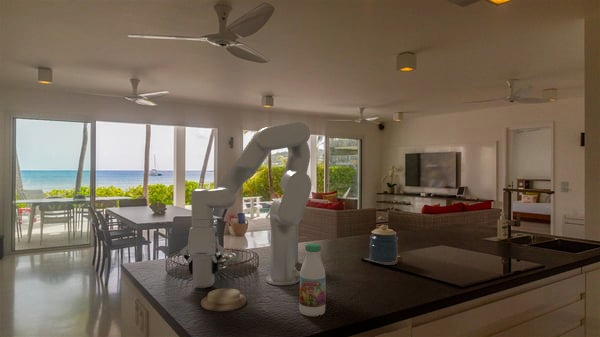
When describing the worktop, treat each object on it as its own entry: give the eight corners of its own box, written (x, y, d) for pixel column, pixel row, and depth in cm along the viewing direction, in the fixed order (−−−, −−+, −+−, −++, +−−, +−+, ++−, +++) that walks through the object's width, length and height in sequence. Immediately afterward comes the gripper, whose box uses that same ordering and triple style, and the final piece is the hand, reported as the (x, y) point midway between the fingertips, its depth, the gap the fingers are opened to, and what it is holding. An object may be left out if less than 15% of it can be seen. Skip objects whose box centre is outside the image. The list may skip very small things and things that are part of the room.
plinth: (250, 296, 123) (250, 287, 123) (241, 312, 109) (241, 301, 109) (208, 294, 124) (208, 285, 124) (194, 310, 110) (194, 300, 110)
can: (208, 289, 127) (208, 254, 127) (188, 288, 129) (188, 253, 129) (218, 282, 135) (217, 249, 134) (199, 281, 136) (198, 249, 136)
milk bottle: (298, 307, 114) (299, 242, 114) (323, 307, 114) (324, 242, 114) (300, 317, 106) (301, 247, 106) (327, 316, 107) (328, 247, 107)
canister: (401, 267, 164) (401, 227, 164) (371, 266, 164) (372, 226, 164) (394, 259, 177) (394, 223, 177) (367, 259, 177) (367, 222, 177)
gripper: (229, 221, 135) (230, 270, 135) (182, 222, 136) (183, 270, 136) (224, 224, 127) (224, 276, 127) (174, 225, 128) (175, 276, 128)
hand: (203, 272), depth 132 cm, fingers closed on can, 7 cm apart
